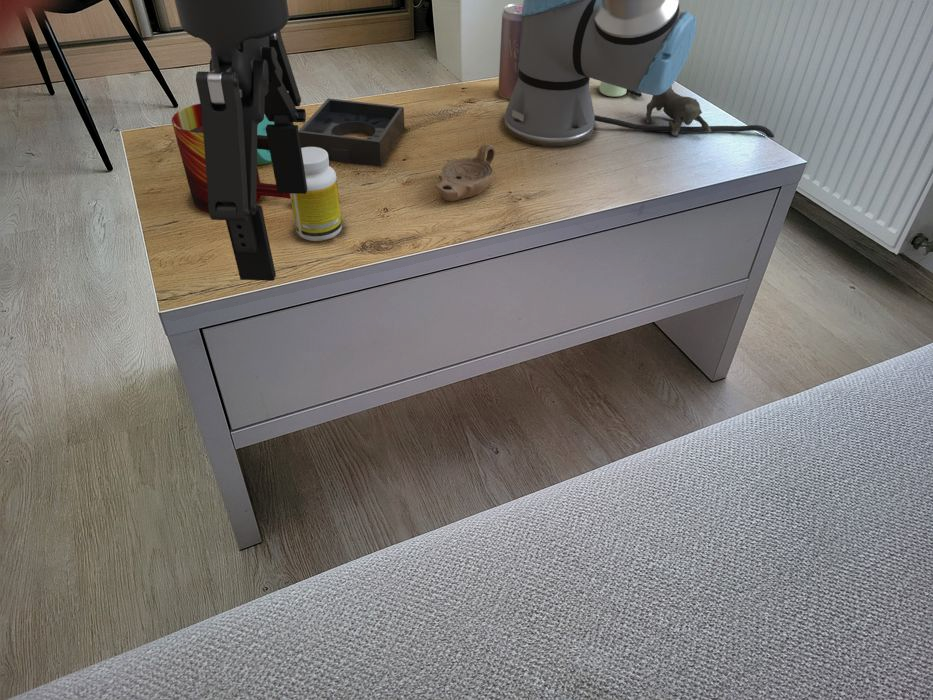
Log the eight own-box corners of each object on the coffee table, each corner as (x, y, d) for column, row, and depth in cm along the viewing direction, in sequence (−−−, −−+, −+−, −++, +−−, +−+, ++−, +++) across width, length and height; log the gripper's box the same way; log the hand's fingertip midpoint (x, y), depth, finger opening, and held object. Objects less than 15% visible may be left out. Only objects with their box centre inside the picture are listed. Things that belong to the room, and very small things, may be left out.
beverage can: (530, 89, 134) (537, 3, 124) (529, 102, 130) (536, 14, 120) (499, 87, 135) (503, 2, 125) (497, 100, 130) (501, 12, 120)
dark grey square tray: (405, 129, 120) (404, 118, 119) (381, 166, 111) (380, 154, 109) (330, 120, 122) (328, 109, 121) (300, 156, 113) (298, 144, 111)
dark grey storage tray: (404, 129, 120) (403, 106, 118) (381, 166, 111) (379, 142, 108) (330, 121, 122) (327, 98, 120) (300, 156, 113) (297, 132, 110)
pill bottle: (352, 229, 97) (344, 154, 90) (316, 248, 94) (305, 171, 86) (322, 213, 100) (312, 139, 93) (286, 230, 97) (273, 154, 89)
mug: (295, 205, 102) (282, 125, 94) (193, 218, 99) (171, 136, 91) (288, 173, 108) (275, 96, 100) (192, 184, 105) (172, 105, 97)
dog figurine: (638, 118, 126) (646, 76, 121) (663, 112, 128) (672, 70, 123) (685, 146, 118) (696, 102, 113) (711, 139, 120) (722, 95, 115)
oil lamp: (460, 215, 101) (461, 183, 97) (419, 198, 104) (418, 166, 101) (512, 179, 109) (514, 148, 105) (473, 164, 112) (474, 134, 108)
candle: (620, 99, 131) (627, 53, 126) (595, 92, 133) (601, 47, 128) (630, 90, 135) (638, 45, 129) (605, 84, 136) (612, 39, 131)
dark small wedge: (609, 73, 142) (608, 65, 141) (614, 71, 142) (614, 64, 141) (638, 100, 131) (638, 92, 130) (644, 98, 132) (644, 90, 131)
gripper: (221, -79, 58) (267, 161, 72) (95, 28, 40) (190, 321, 54) (313, -77, 58) (341, 163, 72) (231, 31, 39) (289, 324, 54)
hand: (276, 231), depth 63 cm, fingers open, 13 cm apart
